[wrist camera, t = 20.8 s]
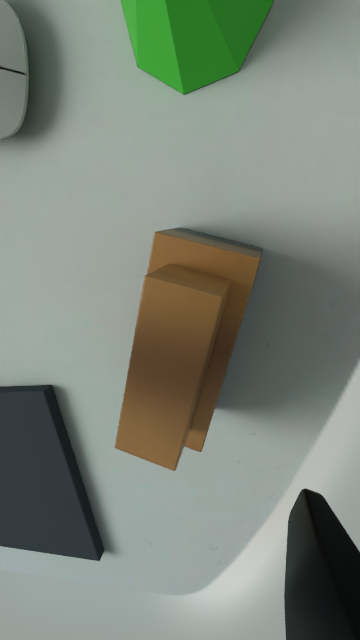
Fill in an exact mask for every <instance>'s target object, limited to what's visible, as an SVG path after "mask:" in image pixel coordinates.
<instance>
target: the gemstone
mask: <svg viewBox="0 0 360 640" xmlns="http://www.w3.org/2000/svg"><path fill="white" fill-rule="evenodd" d="M121 4H122V7H123V11H124V15H125V19H126V23H127V27H128V31H129V35H130V39H131V43H132V47H133V50H134V54H135V58H136V62H137V66H138V67H139V68H140V69H142V70H144V71H145V72H147V73H149V74H150V75H152V76H154V77H155V78H157V79H159V80H160V81H162V82H164V83H165V84H167V85H169V86H170V87H172V88H174V89H175V90H177V91H179V92H180V93H182V94H186V93H189V92H191V91H193V90H196V89H198V88H200V87H203V86H205V85H207V84H210V83H212V82H215V81H217V80H219V79H222V78H224V77H226V76H229V75H231V74H233V73H236V72H238V71H239V70H240V68H241V66H242V64H243V62H244V60H245V58H246V56H247V54H248V52H249V50H250V48H251V46H252V44H253V42H254V40H255V38H256V36H257V34H258V32H259V30H260V28H261V26H262V24H263V22H264V20H265V18H266V16H267V14H268V12H269V10H270V8H271V6H272V4H273V0H121Z"/></svg>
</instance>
